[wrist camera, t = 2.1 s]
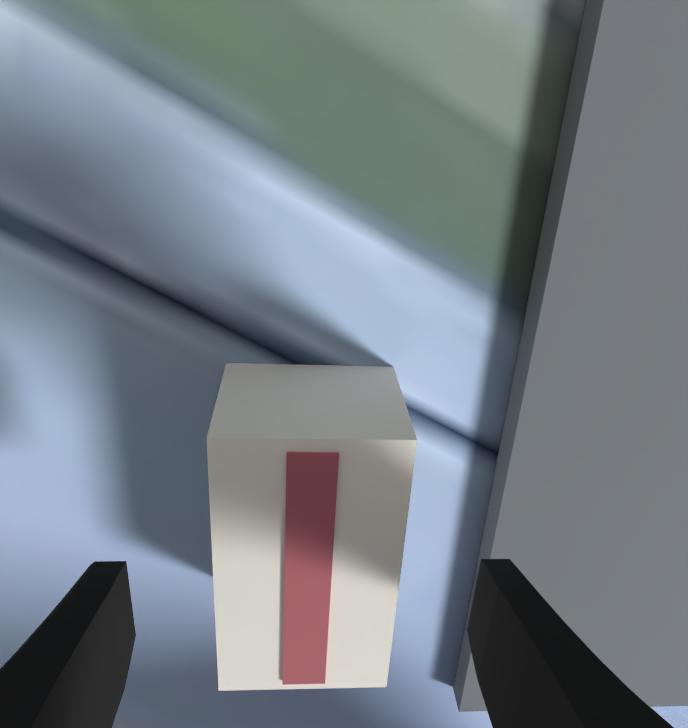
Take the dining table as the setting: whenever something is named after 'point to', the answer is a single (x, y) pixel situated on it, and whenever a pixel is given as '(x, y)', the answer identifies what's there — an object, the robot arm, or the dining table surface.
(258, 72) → the dining table surface
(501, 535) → the slate mat
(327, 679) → the white rectangular block
